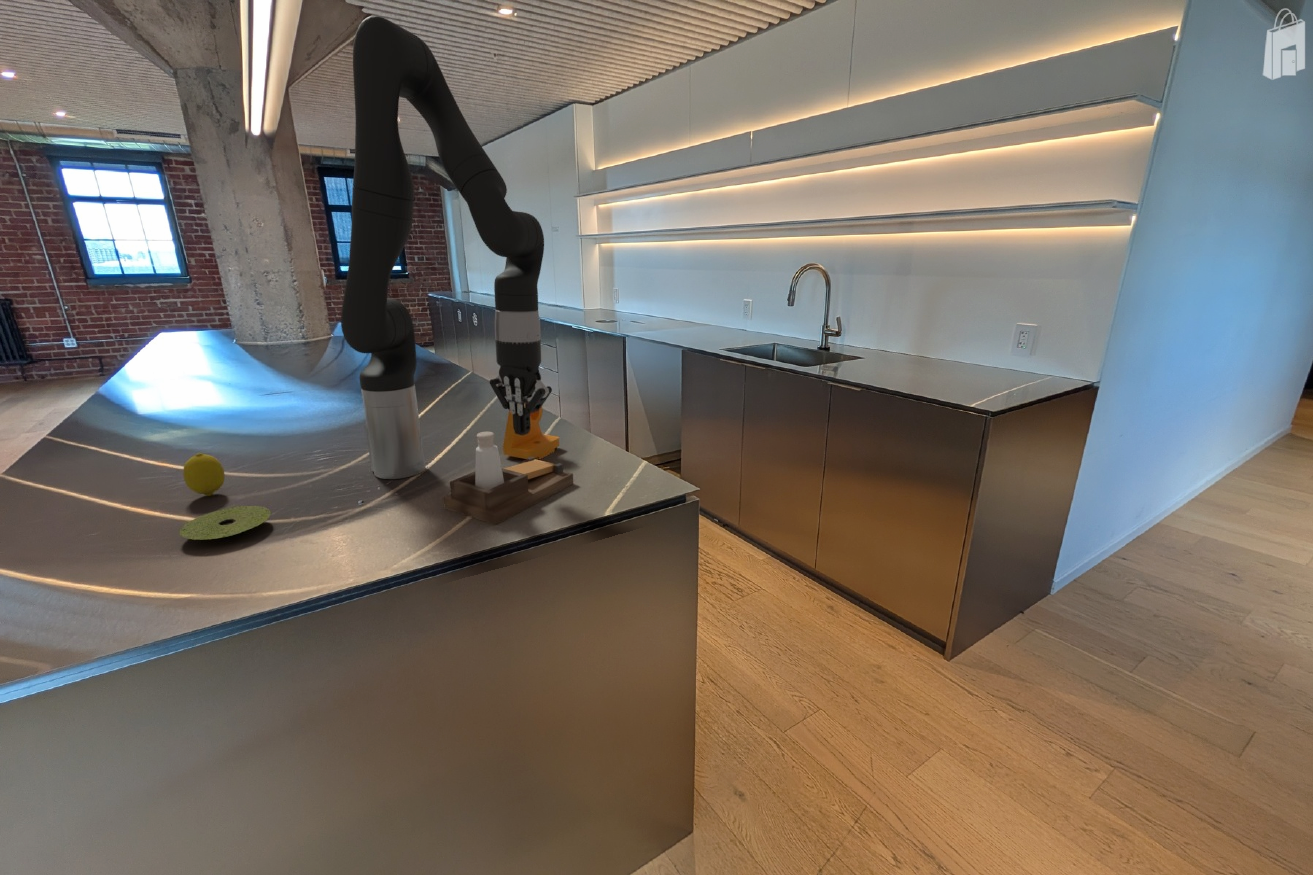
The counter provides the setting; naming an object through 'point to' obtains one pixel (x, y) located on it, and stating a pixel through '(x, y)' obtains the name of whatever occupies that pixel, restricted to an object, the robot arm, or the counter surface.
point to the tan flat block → (533, 468)
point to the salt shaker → (487, 462)
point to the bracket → (528, 439)
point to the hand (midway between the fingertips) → (522, 433)
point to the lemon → (203, 474)
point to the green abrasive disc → (225, 522)
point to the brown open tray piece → (504, 494)
